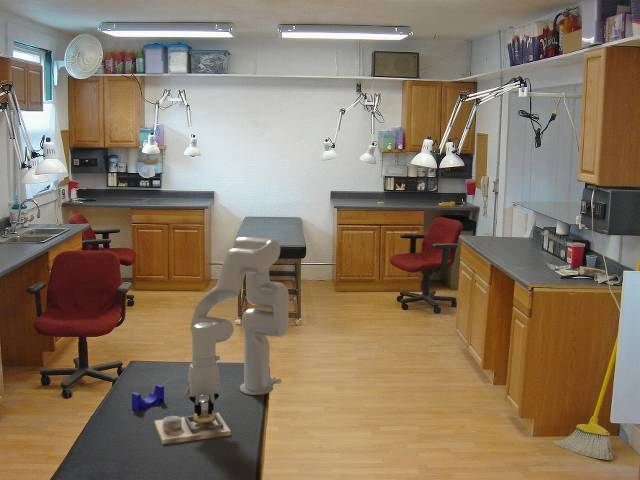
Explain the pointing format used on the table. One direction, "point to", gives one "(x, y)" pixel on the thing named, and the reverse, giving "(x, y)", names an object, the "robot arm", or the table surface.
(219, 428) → the carrier plate
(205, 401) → the gold and silver knob
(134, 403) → the cable clip
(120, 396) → the table surface
